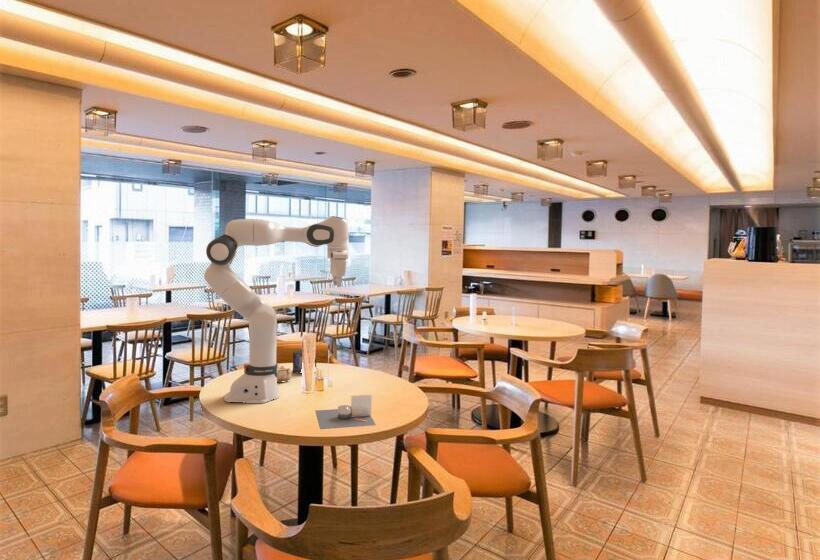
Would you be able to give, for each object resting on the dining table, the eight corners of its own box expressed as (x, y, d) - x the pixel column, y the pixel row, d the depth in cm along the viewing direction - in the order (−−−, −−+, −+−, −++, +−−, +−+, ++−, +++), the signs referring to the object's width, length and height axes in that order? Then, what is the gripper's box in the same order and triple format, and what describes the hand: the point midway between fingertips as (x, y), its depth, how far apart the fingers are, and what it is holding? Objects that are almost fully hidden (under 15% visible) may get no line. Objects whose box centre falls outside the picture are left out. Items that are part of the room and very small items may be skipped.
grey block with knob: (338, 419, 186) (339, 399, 186) (337, 414, 191) (337, 395, 190) (372, 417, 190) (372, 397, 189) (369, 412, 194) (369, 393, 194)
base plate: (320, 431, 177) (320, 428, 177) (315, 413, 196) (315, 409, 196) (376, 427, 182) (376, 424, 182) (365, 409, 202) (365, 406, 202)
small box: (291, 372, 255) (292, 352, 255) (299, 369, 262) (299, 349, 261) (310, 375, 252) (310, 354, 251) (316, 372, 258) (317, 351, 257)
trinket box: (294, 382, 239) (294, 366, 238) (262, 386, 231) (262, 369, 230) (285, 375, 250) (285, 360, 249) (254, 379, 242) (254, 363, 241)
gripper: (327, 253, 228) (326, 284, 228) (333, 254, 208) (333, 287, 209) (341, 254, 229) (340, 284, 230) (348, 254, 210) (348, 287, 211)
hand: (337, 286), depth 219 cm, fingers open, 8 cm apart
